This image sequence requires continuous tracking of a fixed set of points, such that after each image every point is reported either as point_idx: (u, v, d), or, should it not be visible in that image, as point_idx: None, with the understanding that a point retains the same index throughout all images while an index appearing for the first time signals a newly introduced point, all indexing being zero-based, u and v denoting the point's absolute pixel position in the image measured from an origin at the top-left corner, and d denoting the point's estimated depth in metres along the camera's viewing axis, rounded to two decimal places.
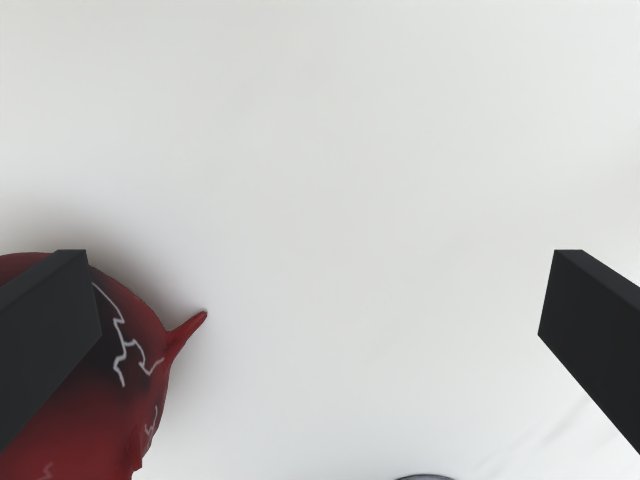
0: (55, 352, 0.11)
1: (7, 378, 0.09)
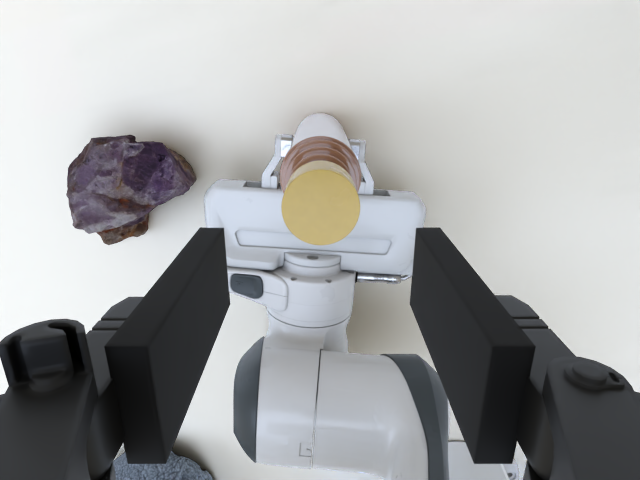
0: (213, 313, 0.12)
1: (197, 329, 0.11)
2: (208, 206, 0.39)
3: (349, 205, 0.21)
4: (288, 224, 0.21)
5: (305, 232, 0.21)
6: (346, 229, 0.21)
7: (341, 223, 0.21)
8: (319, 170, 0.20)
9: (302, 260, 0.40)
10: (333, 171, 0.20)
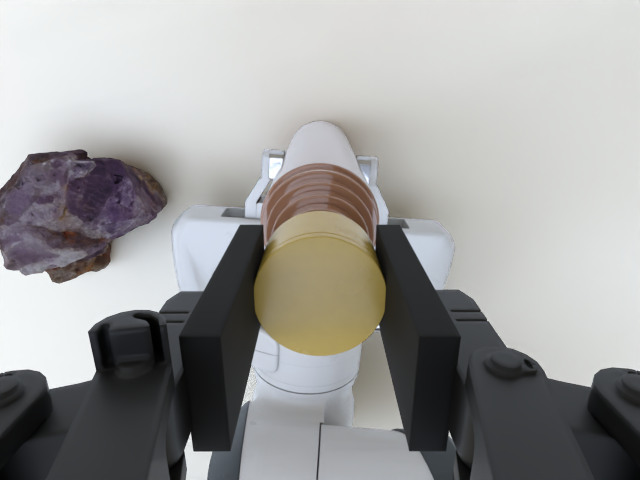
0: None
1: (248, 322, 0.11)
2: (176, 242, 0.30)
3: (368, 294, 0.12)
4: (265, 324, 0.12)
5: (294, 336, 0.13)
6: (363, 332, 0.12)
7: (354, 322, 0.12)
8: (317, 237, 0.11)
9: None
10: (341, 239, 0.12)
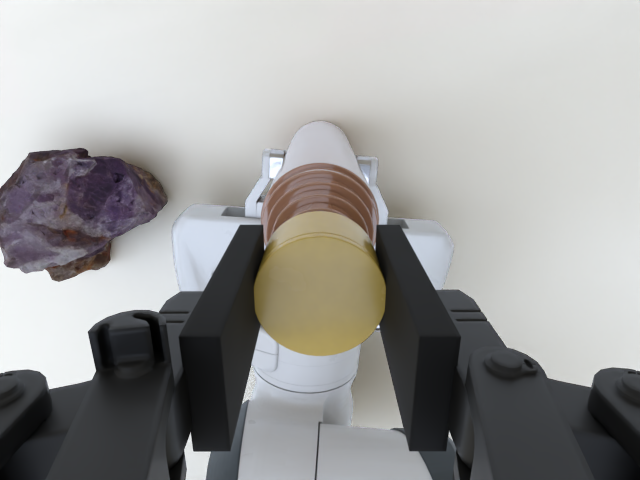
0: None
1: (248, 322, 0.11)
2: (176, 240, 0.30)
3: (295, 259, 0.12)
4: (365, 334, 0.12)
5: (369, 306, 0.12)
6: (337, 248, 0.12)
7: (330, 259, 0.12)
8: (261, 323, 0.12)
9: None
10: None
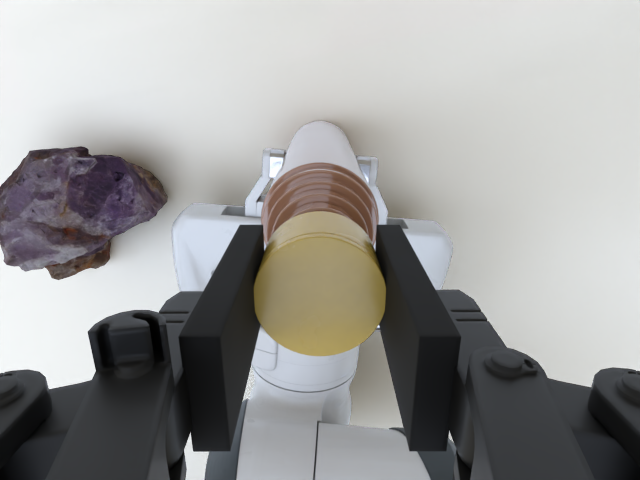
0: None
1: (248, 322, 0.11)
2: (176, 239, 0.30)
3: (290, 332, 0.12)
4: (339, 244, 0.12)
5: (307, 254, 0.12)
6: (262, 305, 0.12)
7: (276, 305, 0.12)
8: (366, 337, 0.13)
9: None
10: (348, 348, 0.13)
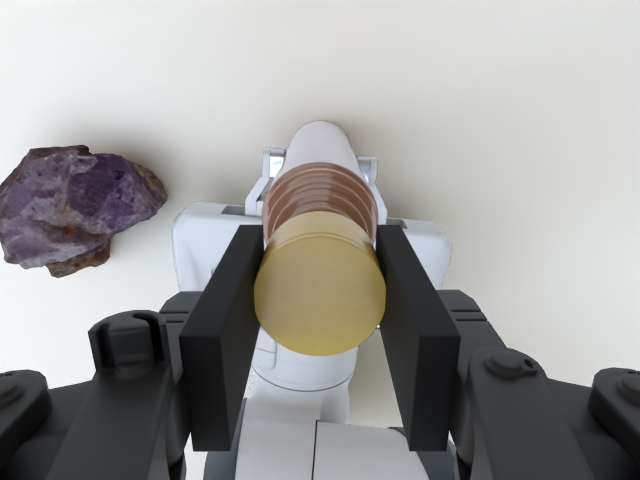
0: None
1: (247, 322, 0.11)
2: (176, 238, 0.31)
3: (366, 311, 0.12)
4: (257, 304, 0.12)
5: (279, 325, 0.12)
6: (346, 344, 0.13)
7: (342, 332, 0.12)
8: (343, 242, 0.12)
9: None
10: (364, 251, 0.12)
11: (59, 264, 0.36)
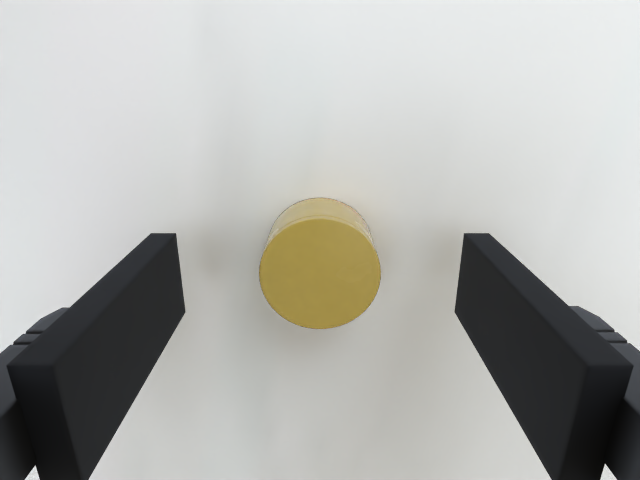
0: (159, 323, 0.12)
1: (133, 341, 0.10)
2: None
3: (362, 287, 0.14)
4: (263, 280, 0.13)
5: (283, 300, 0.14)
6: (343, 317, 0.14)
7: (340, 306, 0.14)
8: (341, 223, 0.13)
9: None
10: (360, 232, 0.13)
11: None
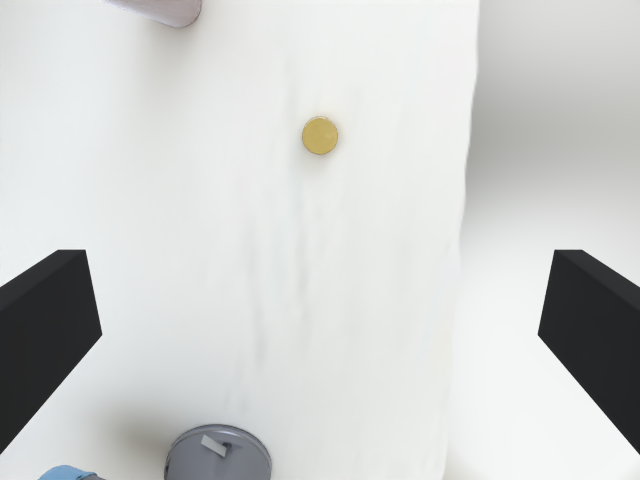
0: (55, 352, 0.11)
1: (7, 378, 0.09)
2: None
3: (332, 140, 0.46)
4: (303, 137, 0.46)
5: (309, 144, 0.46)
6: (327, 150, 0.46)
7: (325, 146, 0.46)
8: (325, 119, 0.45)
9: None
10: (331, 122, 0.46)
11: None
